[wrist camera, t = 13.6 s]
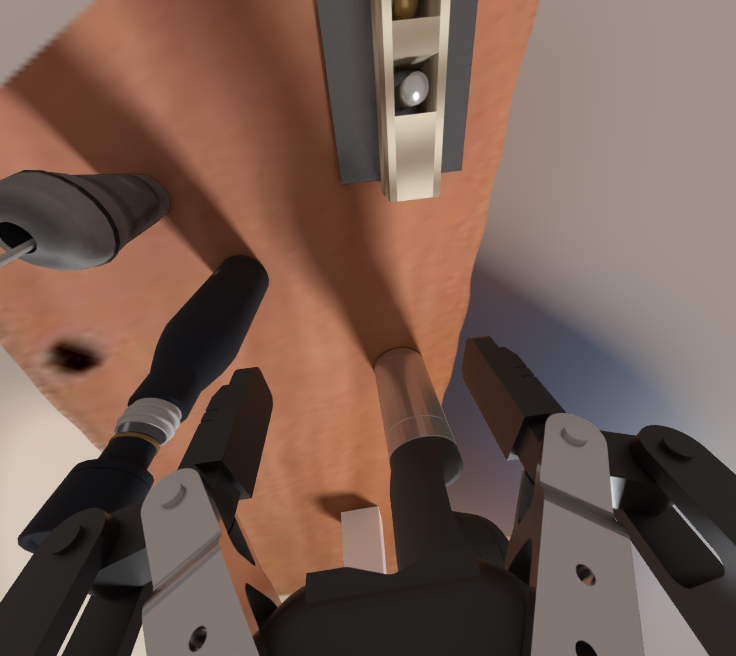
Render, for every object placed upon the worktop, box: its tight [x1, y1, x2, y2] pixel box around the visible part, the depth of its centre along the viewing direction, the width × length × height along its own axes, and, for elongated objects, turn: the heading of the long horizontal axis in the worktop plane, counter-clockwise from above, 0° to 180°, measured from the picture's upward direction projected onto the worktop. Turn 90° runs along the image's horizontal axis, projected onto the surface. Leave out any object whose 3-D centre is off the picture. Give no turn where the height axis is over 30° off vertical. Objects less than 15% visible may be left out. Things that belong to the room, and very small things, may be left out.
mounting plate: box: [317, 0, 478, 185], centre depth 24 cm, size 14×14×8 cm
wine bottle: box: [18, 255, 269, 553], centre depth 25 cm, size 6×6×30 cm
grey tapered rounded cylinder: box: [0, 170, 170, 270], centre depth 22 cm, size 7×7×20 cm
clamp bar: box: [370, 0, 451, 202], centre depth 24 cm, size 17×5×6 cm, turn 5°
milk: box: [341, 506, 386, 574], centre depth 78 cm, size 12×12×26 cm
